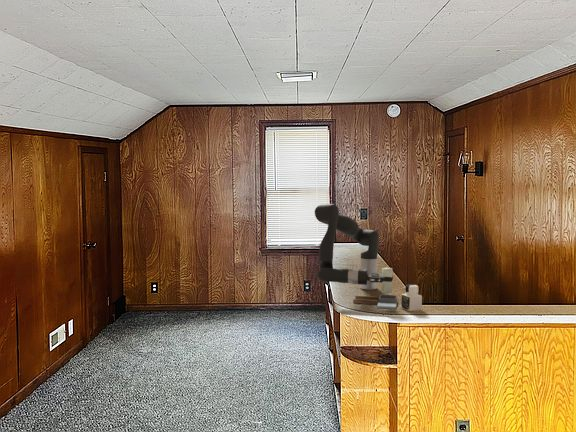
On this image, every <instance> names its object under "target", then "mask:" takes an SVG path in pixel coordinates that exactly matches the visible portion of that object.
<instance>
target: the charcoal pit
mask: <svg viewBox="0 0 576 432" xmlns="http://www.w3.org/2000/svg"><path fill="white" fill-rule="evenodd" d="M378 297H379V301H378V302H380V303H397V302H398V295H393V294H379V296H378ZM397 304H398V303H397Z"/></svg>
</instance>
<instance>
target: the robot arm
mask: <svg viewBox="0 0 576 432" xmlns="http://www.w3.org/2000/svg"><path fill="white" fill-rule="evenodd" d="M314 217H315V218H316V220H317V221H319V223H322V224H325V225H327V230H326V232H325V234H324V236H323V237H322V239H321V242H320V244H319V251H318V252H319V253H318V261H319V270H318V271H317V273H316V275H317V278H318V280H319V281H321V282H324V283H329V282H331V283H341V284H351V285H359V286H360V289H362V290H368V291H369V290H370V291H371V290H376V289H378V288H377V287H378V286H377V285H378V283H381V284H382V282H384V281H385V282H392V283H393V280H394V275H393V274H392V277H385V278H384V276H382V272H381V273H380V272H378V255H379V247H380V246H379V245H380V236H379V235H380V234H379V232H378V231H377V230H374V229H365V228H360V227H359V224H358V222H357V221H356V220H355V219H354V218H352V217H350V216H347V215H344V214H340V211H339V207H338V206H337V204H335V203H328V204H327V203H324V204H323V203H322V204H319V205H317V206H316V208H315V209H314ZM337 231H338V232H339V233H342V234H343V235H345V236H348V237H349V238H351V239H353V240H354V241H355V242H356V243H358V244H359V245H361V246H363V247H364V246H365V247H367V248H368V249H367V250H366V251H363V252H361V253H360V268H334V263H333V261H334V258H333V257H334V245H335V244H334V243H335V238H336V234H337Z"/></svg>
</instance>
